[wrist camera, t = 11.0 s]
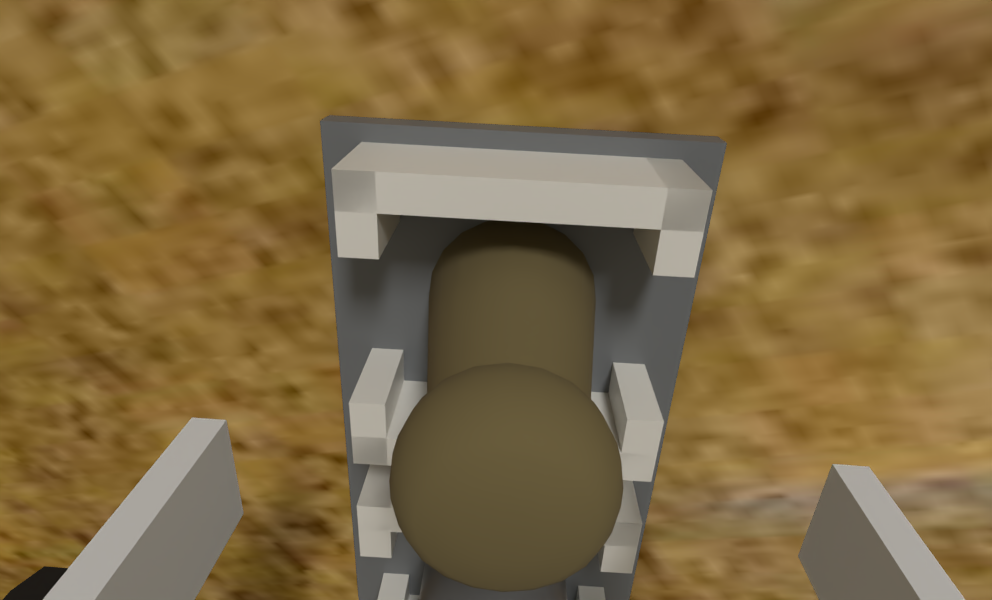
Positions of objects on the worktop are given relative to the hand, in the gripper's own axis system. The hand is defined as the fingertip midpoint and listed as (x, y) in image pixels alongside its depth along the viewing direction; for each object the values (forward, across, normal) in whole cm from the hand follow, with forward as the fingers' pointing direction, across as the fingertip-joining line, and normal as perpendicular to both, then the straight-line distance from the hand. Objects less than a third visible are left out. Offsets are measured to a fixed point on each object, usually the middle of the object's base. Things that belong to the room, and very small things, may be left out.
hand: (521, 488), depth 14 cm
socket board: (+11, 0, +6) cm, 12 cm away
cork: (+10, 0, 0) cm, 10 cm away
